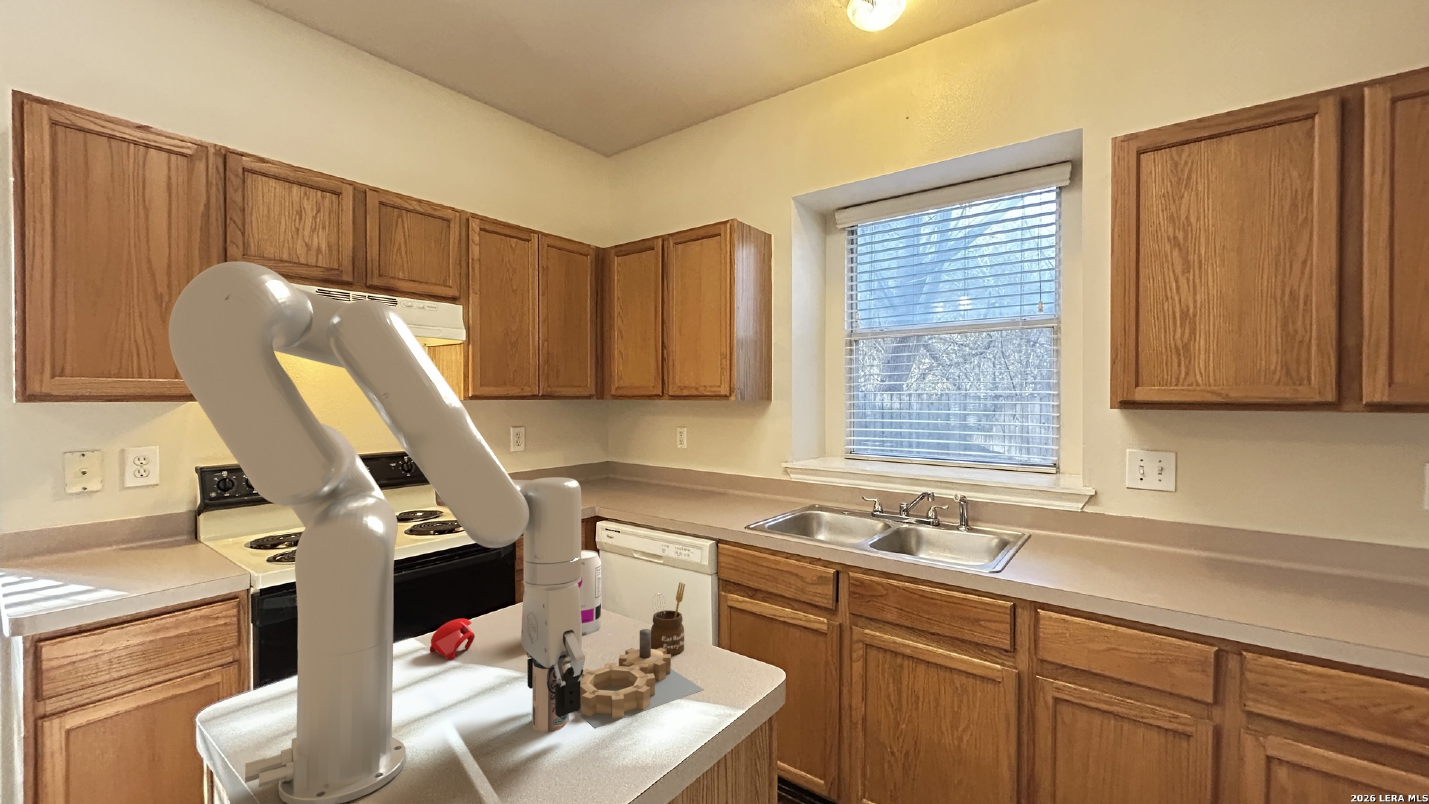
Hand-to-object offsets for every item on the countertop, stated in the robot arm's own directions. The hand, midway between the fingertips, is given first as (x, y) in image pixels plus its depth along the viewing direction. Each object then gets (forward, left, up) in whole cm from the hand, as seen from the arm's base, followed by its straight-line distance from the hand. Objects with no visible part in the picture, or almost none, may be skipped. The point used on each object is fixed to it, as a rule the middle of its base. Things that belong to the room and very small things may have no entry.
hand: (552, 698), depth 80 cm
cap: (-4, +34, -4) cm, 35 cm away
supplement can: (+18, +30, -4) cm, 35 cm away
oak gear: (+10, +1, -3) cm, 10 cm away
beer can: (0, 0, -4) cm, 4 cm away
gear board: (+13, +3, -4) cm, 14 cm away
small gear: (+18, +6, -3) cm, 19 cm away
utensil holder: (+26, +11, -4) cm, 28 cm away
